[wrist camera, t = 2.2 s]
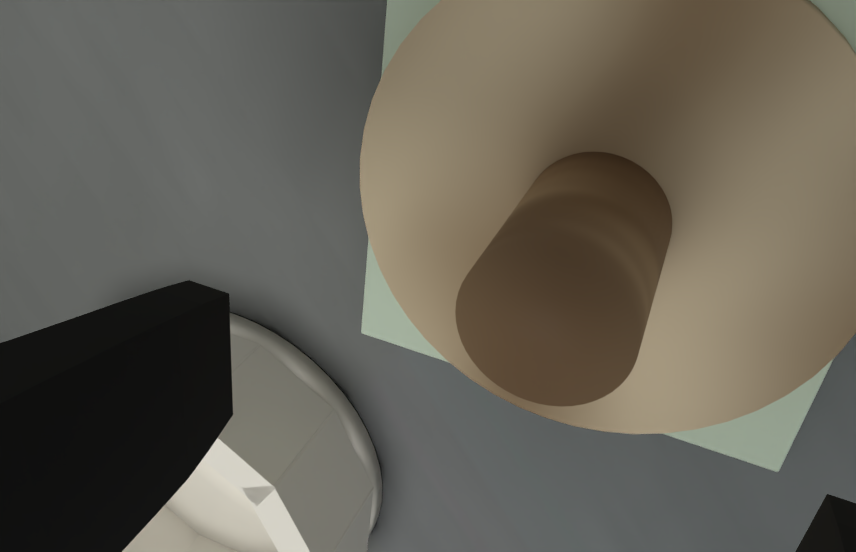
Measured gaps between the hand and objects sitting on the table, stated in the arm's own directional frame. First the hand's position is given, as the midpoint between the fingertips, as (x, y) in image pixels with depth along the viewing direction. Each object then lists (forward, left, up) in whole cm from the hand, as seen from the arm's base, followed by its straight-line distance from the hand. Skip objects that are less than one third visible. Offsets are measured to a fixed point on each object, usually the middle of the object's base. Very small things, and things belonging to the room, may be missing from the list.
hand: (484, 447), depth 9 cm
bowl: (+9, +11, -8) cm, 16 cm away
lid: (0, 0, -8) cm, 8 cm away
